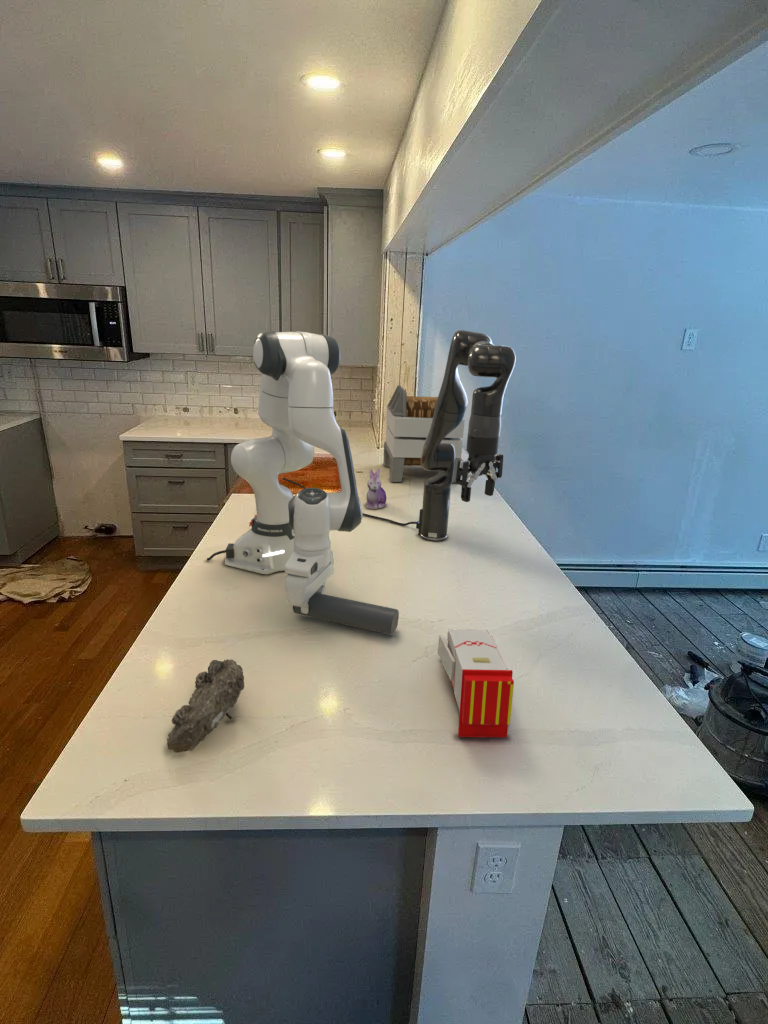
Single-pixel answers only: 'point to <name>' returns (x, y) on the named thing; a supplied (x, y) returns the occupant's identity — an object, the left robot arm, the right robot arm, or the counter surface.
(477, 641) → the toy
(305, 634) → the counter surface
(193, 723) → the fossil
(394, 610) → the rod
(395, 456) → the white crate
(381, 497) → the figurine
